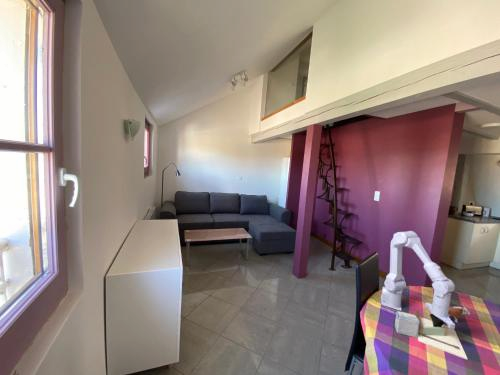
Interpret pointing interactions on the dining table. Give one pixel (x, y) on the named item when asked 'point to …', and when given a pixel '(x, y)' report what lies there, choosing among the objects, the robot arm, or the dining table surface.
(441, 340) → the board
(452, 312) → the bull figurine
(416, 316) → the fixed fence section
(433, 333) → the hinged fence panel
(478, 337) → the dining table surface
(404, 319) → the medicine box
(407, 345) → the dining table surface
